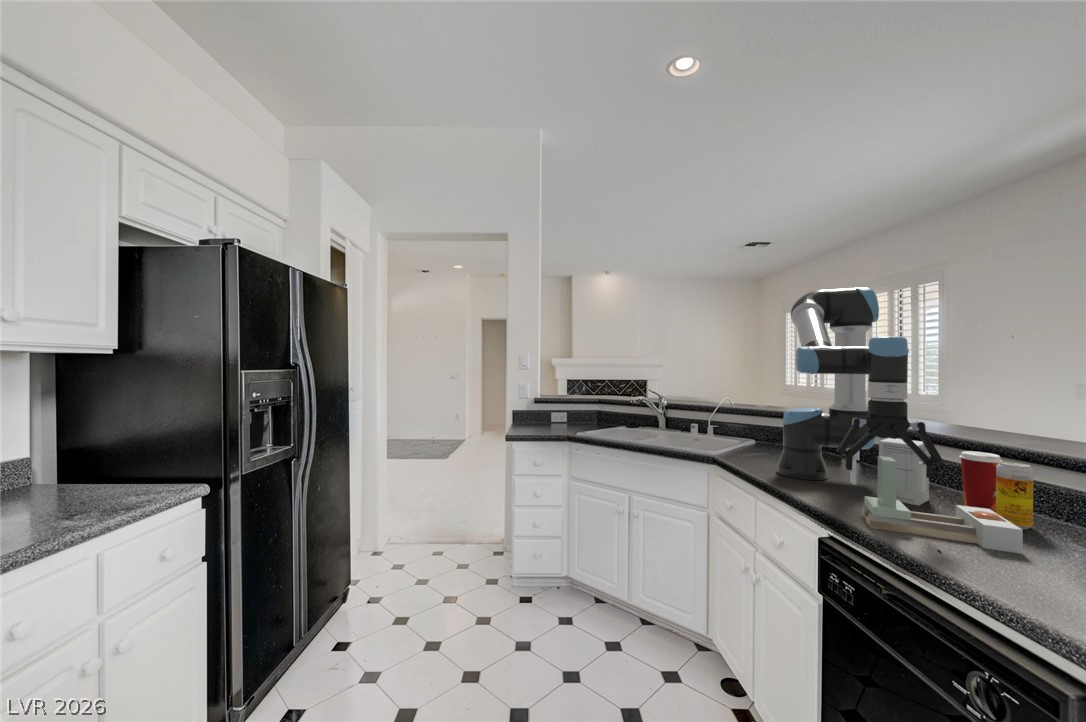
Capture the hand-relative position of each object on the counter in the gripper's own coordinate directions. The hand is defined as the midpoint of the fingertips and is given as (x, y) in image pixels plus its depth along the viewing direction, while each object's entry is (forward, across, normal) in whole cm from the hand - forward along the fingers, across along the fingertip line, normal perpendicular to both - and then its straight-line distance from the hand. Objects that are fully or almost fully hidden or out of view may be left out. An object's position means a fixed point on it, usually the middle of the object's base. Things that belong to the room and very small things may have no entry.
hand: (886, 487), depth 104 cm
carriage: (+6, 0, 0) cm, 6 cm away
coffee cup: (+9, +26, +26) cm, 38 cm away
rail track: (+9, +6, 0) cm, 11 cm away
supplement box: (+9, +10, +27) cm, 30 cm away
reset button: (+8, +18, 0) cm, 20 cm away
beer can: (+9, +28, +14) cm, 33 cm away
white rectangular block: (+9, +18, 0) cm, 20 cm away
